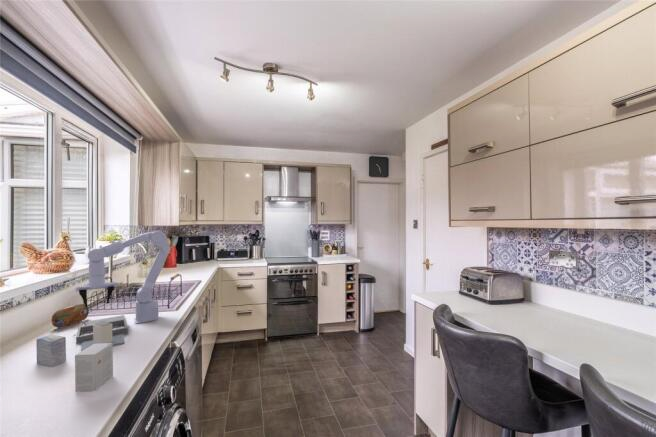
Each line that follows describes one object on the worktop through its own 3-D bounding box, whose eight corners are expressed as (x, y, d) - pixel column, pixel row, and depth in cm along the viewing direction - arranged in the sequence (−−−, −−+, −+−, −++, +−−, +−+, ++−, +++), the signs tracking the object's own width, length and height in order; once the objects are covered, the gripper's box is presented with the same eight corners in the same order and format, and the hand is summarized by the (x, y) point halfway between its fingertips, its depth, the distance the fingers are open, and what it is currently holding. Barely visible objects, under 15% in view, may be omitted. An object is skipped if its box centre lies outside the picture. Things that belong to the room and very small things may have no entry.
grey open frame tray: (124, 317, 147) (123, 311, 147) (127, 333, 125) (127, 326, 125) (80, 324, 136) (80, 318, 136) (76, 343, 115) (76, 336, 115)
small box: (94, 377, 90) (94, 343, 90) (113, 376, 91) (113, 342, 91) (74, 392, 82) (73, 355, 82) (95, 391, 83) (95, 354, 83)
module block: (104, 338, 118) (104, 320, 118) (112, 341, 115) (112, 323, 115) (93, 342, 115) (92, 323, 115) (100, 345, 112) (100, 326, 112)
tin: (55, 330, 130) (55, 311, 130) (49, 330, 130) (49, 311, 130) (89, 319, 144) (89, 302, 144) (84, 318, 145) (84, 301, 145)
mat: (122, 335, 123) (122, 333, 123) (124, 343, 115) (123, 342, 115) (82, 343, 115) (82, 341, 115) (80, 353, 107) (80, 351, 107)
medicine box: (66, 361, 100) (66, 336, 101) (50, 367, 96) (50, 341, 96) (52, 358, 103) (51, 333, 103) (36, 364, 99) (35, 338, 99)
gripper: (116, 271, 140) (116, 300, 140) (76, 275, 131) (76, 305, 131) (116, 273, 134) (117, 303, 134) (75, 277, 126) (75, 309, 125)
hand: (97, 304), depth 132 cm, fingers open, 7 cm apart
